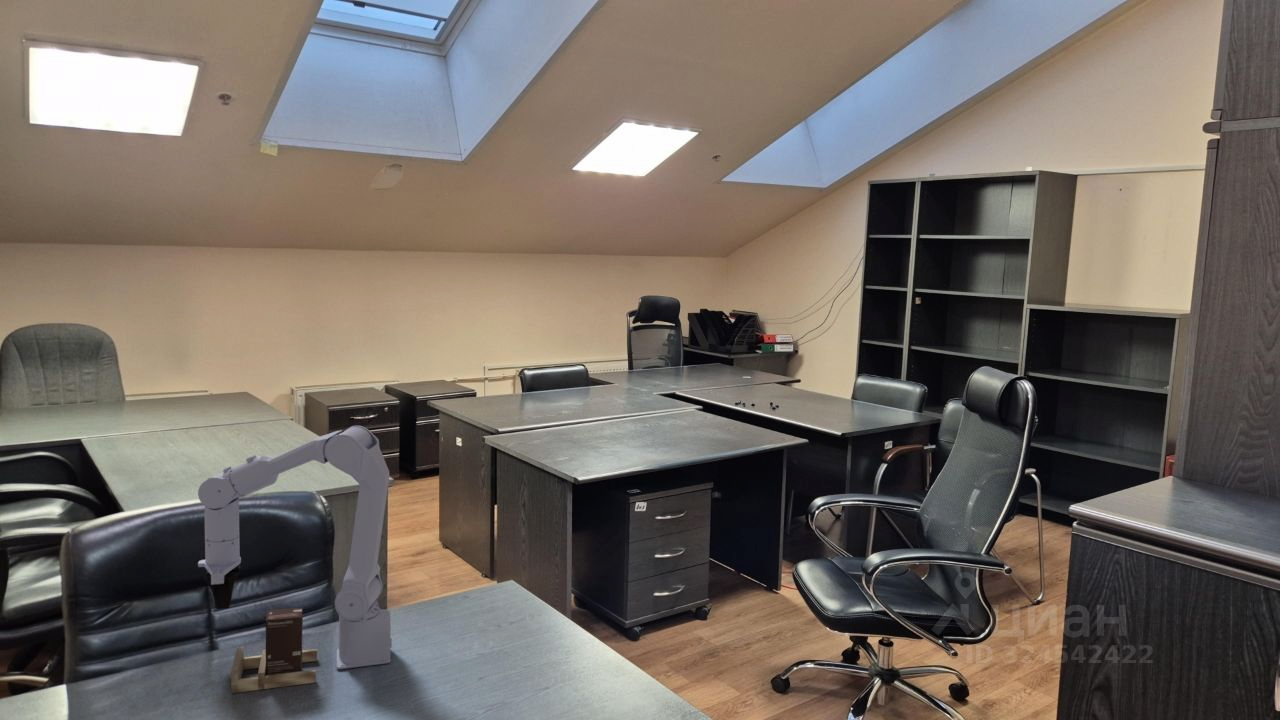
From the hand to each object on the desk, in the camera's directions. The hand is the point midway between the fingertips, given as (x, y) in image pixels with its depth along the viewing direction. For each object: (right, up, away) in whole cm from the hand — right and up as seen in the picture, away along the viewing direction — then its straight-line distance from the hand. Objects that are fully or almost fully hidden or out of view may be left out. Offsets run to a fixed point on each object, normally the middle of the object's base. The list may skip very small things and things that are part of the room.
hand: (223, 607), depth 151 cm
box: (+14, -11, -6) cm, 19 cm away
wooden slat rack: (+12, -11, -6) cm, 17 cm away
